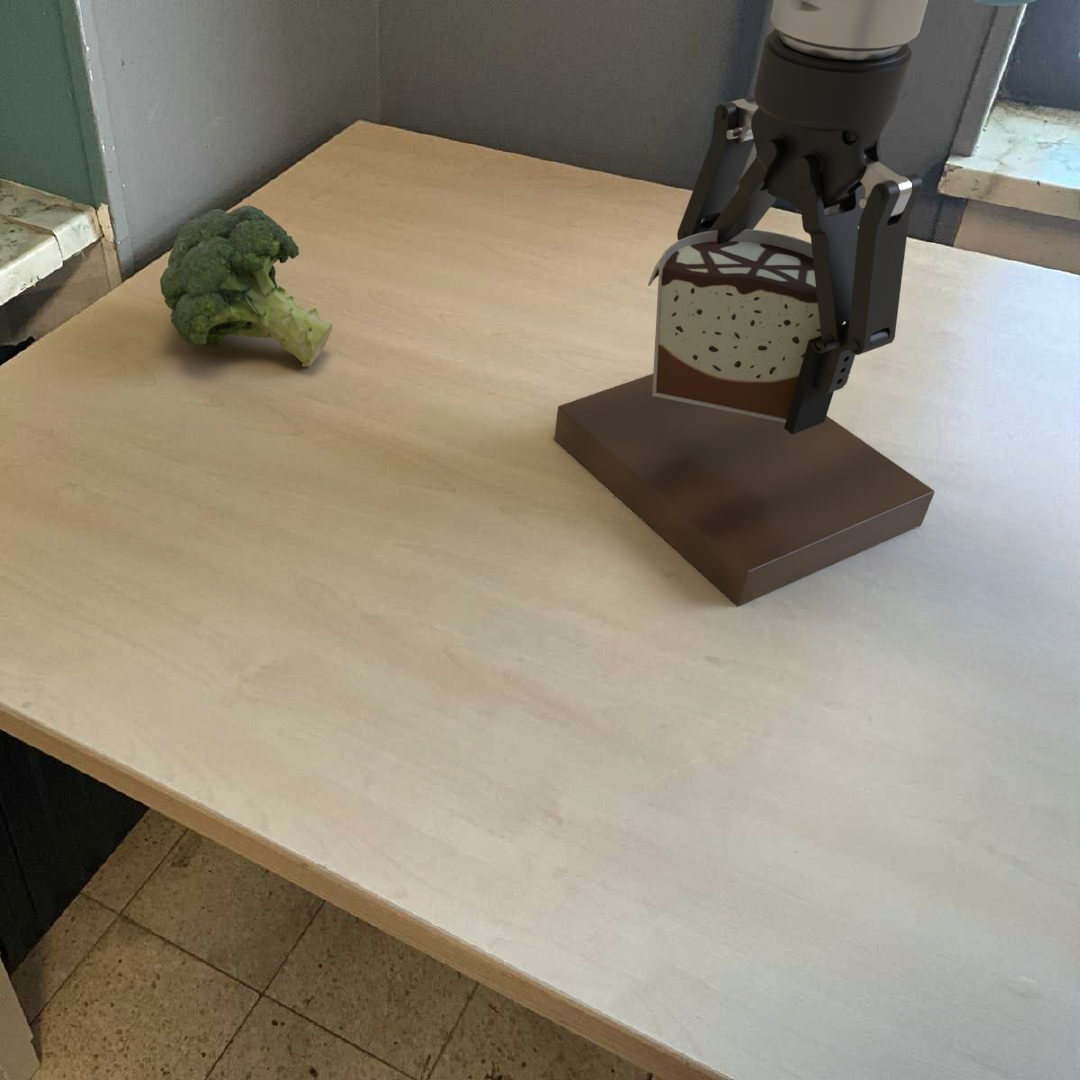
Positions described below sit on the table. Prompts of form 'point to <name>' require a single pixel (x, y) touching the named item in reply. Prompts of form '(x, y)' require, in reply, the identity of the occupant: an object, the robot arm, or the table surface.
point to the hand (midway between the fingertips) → (751, 387)
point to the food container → (734, 321)
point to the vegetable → (238, 284)
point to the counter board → (741, 485)
